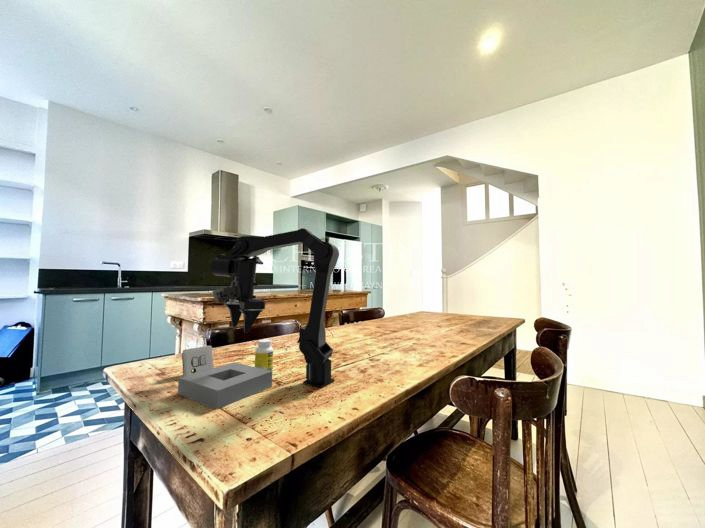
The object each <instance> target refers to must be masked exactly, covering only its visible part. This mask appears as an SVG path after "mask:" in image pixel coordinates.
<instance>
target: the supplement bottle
mask: <svg viewBox="0 0 705 528" xmlns="http://www.w3.org/2000/svg"><path fill="white" fill-rule="evenodd" d="M254 354H255V355H254V367H256V368H261V369H265V370H269V371H272V372H273V369H274V348H273V347H272V339H266V338H265V339H259V340H257V347H256V349H255V352H254Z"/></svg>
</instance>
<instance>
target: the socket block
mask: <svg viewBox="0 0 705 528" xmlns="http://www.w3.org/2000/svg"><path fill="white" fill-rule="evenodd" d="M177 385H178V386H177V395H179V396H182V397H184V398H186V399H190V400H193V401H194V402H197V403H200V404H202V405H204V406H207V407H211V408H212V409H216V410H219V409H221V408H224V407H226V406H229V405H231V404H234V403H235V402H238V401H241V400H243V399H246V398H248V397H250V396H252V395H255V394H258V393H259V392H262V391H264V390H267V389H269V388H271V387H273V371H269V370H265V369H261V368H256V367H255V366H251V365H247V364H242V363H239V362H230V363H227V364H223V365H220V366H216V367H214V368H212V369H209V370H205V371H201V372H198V373H194V374H191V375H187V376H181V377H178V382H177Z"/></svg>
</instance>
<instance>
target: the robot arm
mask: <svg viewBox="0 0 705 528" xmlns="http://www.w3.org/2000/svg"><path fill="white" fill-rule="evenodd" d="M302 244H303V245H304V246H305V247H306V248H307V249H308V250H309V251H312V252H313V265H314V271H315V275H314V282H313V283H314V284H313V289H312V295H311V302H310V310H309V314H308V322H307V323H306V325H305V326H303V327H300V328H299V331H298V333H299V334H298V336H299V337H298V340H297V342H296V344H298V349H299V351H300V352H301V354H302V355H303V357H304V360H305V361H304V362H305V363H306V364H305V380H303V381H302V382H303V383H302V384H304V385H309V386H312V387H317V388H324V387H325V386H327V385H329V384H331V383H333V382H335V378H332V359H329V358H331V357H332V354H333V352H334V349H333V348H332V347H331V345H329V343H328V342H327V341H326V339H327V338H326V337H327V335H326V334H327V333H326V328H325V317H326V310H327V303H328V297H329V290H330V283H331V277H332V274H333V271H334V270H335V268H336V266H337V263H338V260H339V257H340V251H339V249H338V247H337V246H336V245H335V244H332V243H330V242H328V241H323V240H322V239H320V238H319V237H318V236H316V235H314V234H313V233H312V231H310V230H308V229H306V228H305V227H304V228H299V229H297V230H292V231H287V232H280V233H276V234H271V235H270V234H269V235H265V236H257V235H256V236H255V235H243V236H239V237H238V238H237V240H236V241H235V244H234V245H233V246H232V247H231V248H230V250H229V251H228V252H227V253H226V254H222V253H217V254H216V257H215V258H214V259H213V260H212V262H211V264H210V271H211V273H212V274H213V275H214V276H216V277H220V276H221V277H228V278H233V277H234V280H232V281H231V283H230V285H229V286H228V285H227V286H224V287H220V288H217V289H214V290H212V295H213V299H214V302H217V304H220V303H223V306H225V307H226V308H227V309H228V310H229V315H230V321H231V326H232V327H233V328H236V327H237V326H238V325H239V322H240V319H241V317H243V332H244V333H249V332H250V330H251V329H252V327H253V325H254V323H255V321H256V320H257V318H258V317H259V316H260V314H261V313H262V312H263V311H264V310H266V304H267V302H266V301H265V300H264V299H262V298H259V297H257V296H256V295H254V293H255V286H258V282H256V275H257V274H256V272H257V265H264V262H263V261H262V260H261V258H260V257H259V256H260V255H264V254H265V253H266V252H268V251H270V250H276V249H281V248H287V247H291V246H296V245H297V246H298V245H302Z"/></svg>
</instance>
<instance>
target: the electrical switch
mask: <svg viewBox="0 0 705 528" xmlns="http://www.w3.org/2000/svg"><path fill="white" fill-rule="evenodd" d="M213 356H214V354H213V346H212V345H204V346H198V347H194V348H193V347H192V348H191V347H190V348H188V349H187V348H186V349H183V350H182V353H181V360H182V361H181V362H182V374H183V375H182V377H184V376H187V375H191V374H194V373H198V372H201V371H205V370H209V369H212V368H215V367H214V357H213Z"/></svg>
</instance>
